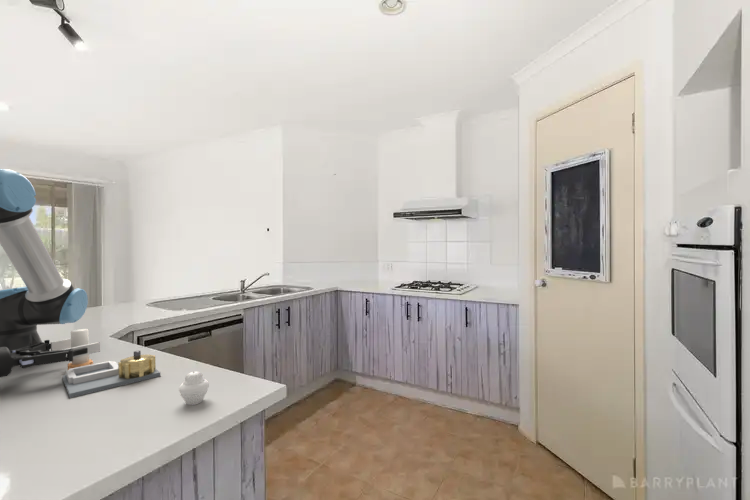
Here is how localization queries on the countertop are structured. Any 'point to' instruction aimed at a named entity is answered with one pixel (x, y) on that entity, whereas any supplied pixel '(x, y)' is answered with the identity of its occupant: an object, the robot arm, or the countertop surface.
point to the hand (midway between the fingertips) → (88, 344)
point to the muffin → (194, 388)
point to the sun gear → (136, 365)
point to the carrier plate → (97, 378)
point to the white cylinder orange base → (80, 339)
